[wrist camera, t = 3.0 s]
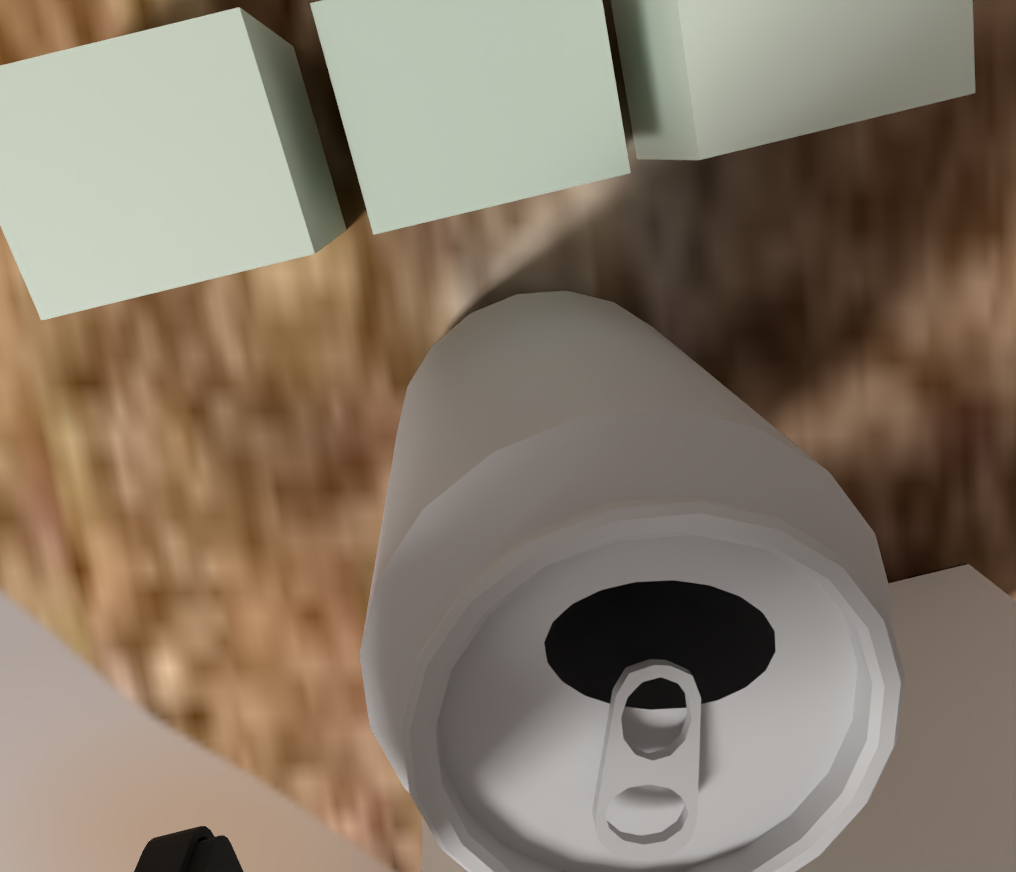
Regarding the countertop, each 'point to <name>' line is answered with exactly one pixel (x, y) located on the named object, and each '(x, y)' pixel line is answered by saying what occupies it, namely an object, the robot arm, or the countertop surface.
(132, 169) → the offcut
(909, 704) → the rack
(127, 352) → the countertop surface
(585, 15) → the offcut mid
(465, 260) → the countertop surface
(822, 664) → the can
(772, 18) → the offcut
